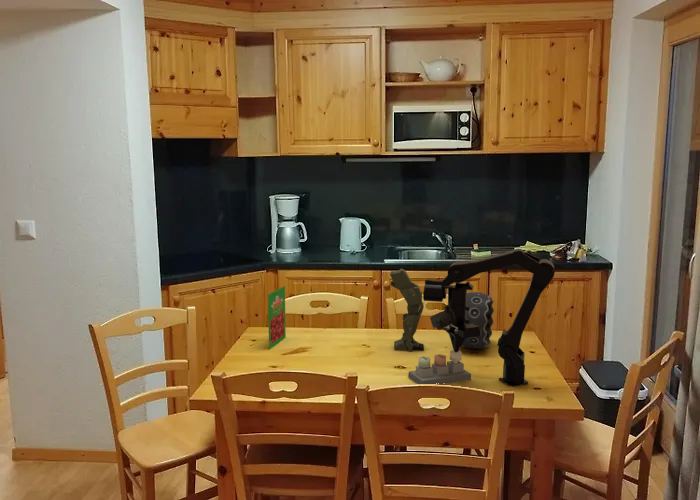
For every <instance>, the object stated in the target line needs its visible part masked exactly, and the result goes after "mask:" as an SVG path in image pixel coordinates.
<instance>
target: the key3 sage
mask: <svg viewBox="0 0 700 500" xmlns="http://www.w3.org/2000/svg"><path fill="white" fill-rule="evenodd" d="M417 366H419V367H421V368H423V369H424V368H429V367H431V357H430V356H419V357H418V365H417Z"/></svg>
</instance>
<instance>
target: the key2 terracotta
mask: <svg viewBox="0 0 700 500" xmlns="http://www.w3.org/2000/svg"><path fill="white" fill-rule="evenodd" d="M433 358H434V359H433V361H434V362H433V363H434V364H435V365H438V366H443V365H447V356H446V355H445V354H441V353H440V354H435V355H434V357H433Z"/></svg>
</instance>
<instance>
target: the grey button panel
mask: <svg viewBox="0 0 700 500" xmlns="http://www.w3.org/2000/svg"><path fill="white" fill-rule="evenodd" d="M408 378H409V379H410V380H411V381H413V382H414V383H415V384H417V385H418V384H436V383H437V384H438V383H439V384H442V385H447V384H452V383H453V384H454V383H460V382H465V381H466V382H467V381H472V373H471V372H470V371H467V370H466V369H465V363H463V362H461V361H458V364H453V361H452V360H446V365H443V366H438V365H435V364H434V362H433V363H431V366H430V367H429V368H424V369H423V368H421V367H419V366H418V365H415V370H410V371H408ZM443 383H445V384H443Z"/></svg>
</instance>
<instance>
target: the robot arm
mask: <svg viewBox="0 0 700 500" xmlns="http://www.w3.org/2000/svg"><path fill="white" fill-rule="evenodd" d="M512 265H519V266H520V267H522V268H524V269H525V270H526V271H528V272H530V273H531V278H530V279H531V280H530V282H529V283H530V284H529V287H528V289H527V290H526V291H527V292H526V293H525V295H524V297H523V300H522V302H521V303H520V307H519V309H518V310H517V313H516V315H515V318H514V320H513V322H512V324H511V326H510V327H509V328H508V330H507V329H505V328H503V329H502V333H501V336H500V337H499V338H498V340H497V345H496V346H497V353H498V355H499V357H500V358H501V359H503V367H502V368H503V369H502V371H503V372H502V377H498V380H499V381H500V382H502V383H504V384H506V385H508V386H509V387H517V386H518V387H519V386H523V385H529V381H528V380H526V379H525V376H526V375H525V373H526V364H525V354H526V353H525V352H524V351H523V350H522V348H520V345H521V339H522V338H523V337H522V336H523V332H524V331H525V329H526V326H527V325H528V322H529V320H530V318H531V315H532V314H533V311H534V309H535V308H536V307H535V306H536V305H537V303H538V300H539V298H540V296H541V294H542V293H543V292H544V291H545V289H546V288H547V287H548V285H549V284H550V283H551V282H552V280H553V279H554V277H555V266H554V263H553V262H552V261H551V260H549V259H547V258H543V259H541V258H539V257H537V256H536V255H533V254H531V253H528V252H527V251H525V250H524V249H522V248H515V249H514V250H511V251H506V252H503V253H499V254H496V255H492V256H488V257H484V258H480V259H475V260H471V259H470V260H469V259H468V260H457V261H455V262H453V263H451V265H450V266H449V267H448V270H447V275H446V276H444V278H443V279H442V280H441V279H431V278H428V279H427V278H425V280H424V288H423V291H422V301H423V302H436V303H437V302H438V303H442V302H443V301H444V300H446V299H447V304H444V308H443V311H440V312H437V313H435V314H434V315H431V316H430V317H429V319H430V323H431V325H432V328H435V329H436V330H439V331H441V330H443V331H445V332H446V333H447V334H448V336H449V340H450V341H451V342H450V343H451V345H452V350H454V352H458V351H460V349H461V347H462V344H463V342H464V340H465V338H469V337H476V336H481V329H480V327H478V326H476V325H474V324H468V325H465V323H469V320H468V319H466V310H469V307H468V306H467V292H468V291H472V290H473V289H474V285H473V284H472V283H471V282H470V281H469V279H472V278H473V277H475V276H477V275H478V274H483V273H485V272H489V271H494V270H497V269H501V268H506V267H509V266H512ZM464 281H466V282H465V283H464Z"/></svg>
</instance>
